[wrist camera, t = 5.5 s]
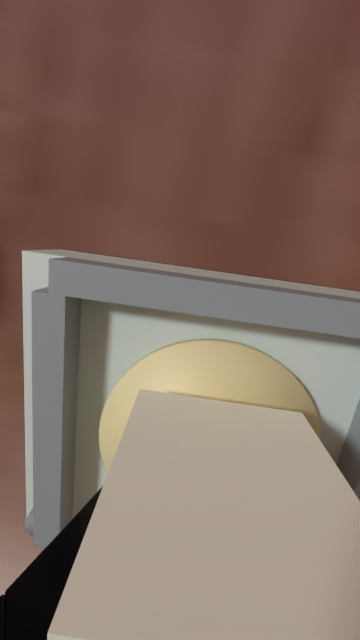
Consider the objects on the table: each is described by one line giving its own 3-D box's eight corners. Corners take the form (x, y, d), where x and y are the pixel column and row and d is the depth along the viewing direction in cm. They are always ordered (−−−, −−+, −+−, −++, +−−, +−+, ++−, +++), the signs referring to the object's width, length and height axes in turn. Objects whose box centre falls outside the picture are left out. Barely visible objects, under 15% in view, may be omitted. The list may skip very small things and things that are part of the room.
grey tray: (316, 517, 15) (361, 615, 11) (57, 477, 15) (9, 560, 11) (393, 296, 11) (495, 322, 8) (62, 249, 12) (-4, 250, 8)
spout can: (252, 585, 10) (343, 1113, 4) (120, 565, 10) (9, 1054, 4) (302, 412, 8) (631, 915, 2) (139, 388, 8) (-20, 809, 2)
